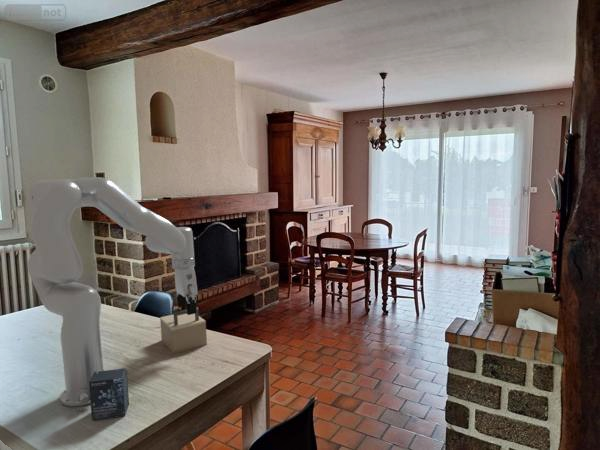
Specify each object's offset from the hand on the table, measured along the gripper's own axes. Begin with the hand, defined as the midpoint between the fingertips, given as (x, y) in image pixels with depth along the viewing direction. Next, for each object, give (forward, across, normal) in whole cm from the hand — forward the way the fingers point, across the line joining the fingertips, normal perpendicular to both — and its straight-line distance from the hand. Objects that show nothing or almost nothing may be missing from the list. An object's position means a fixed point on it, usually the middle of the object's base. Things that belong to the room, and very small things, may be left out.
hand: (187, 310), depth 142 cm
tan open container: (+13, +4, +1) cm, 14 cm away
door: (+5, +4, +1) cm, 7 cm away
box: (+13, -28, +31) cm, 43 cm away
